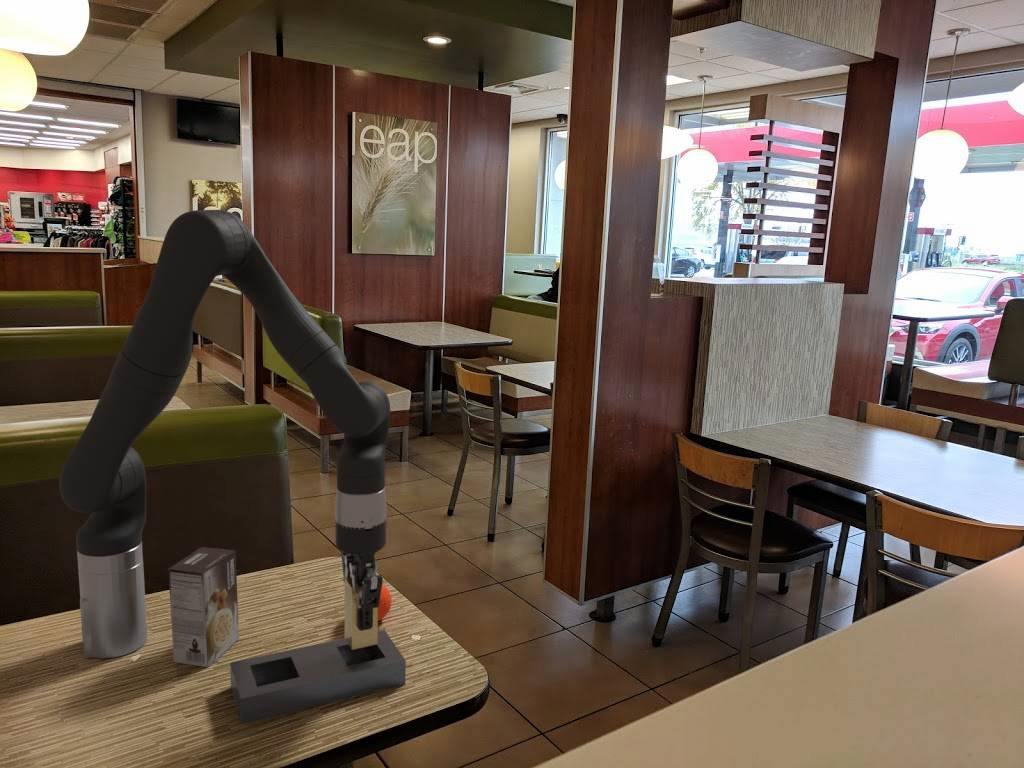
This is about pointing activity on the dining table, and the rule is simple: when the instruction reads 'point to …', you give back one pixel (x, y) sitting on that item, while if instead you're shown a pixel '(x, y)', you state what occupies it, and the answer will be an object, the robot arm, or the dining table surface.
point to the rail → (313, 677)
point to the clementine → (384, 603)
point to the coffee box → (203, 606)
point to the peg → (351, 630)
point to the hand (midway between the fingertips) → (360, 621)
